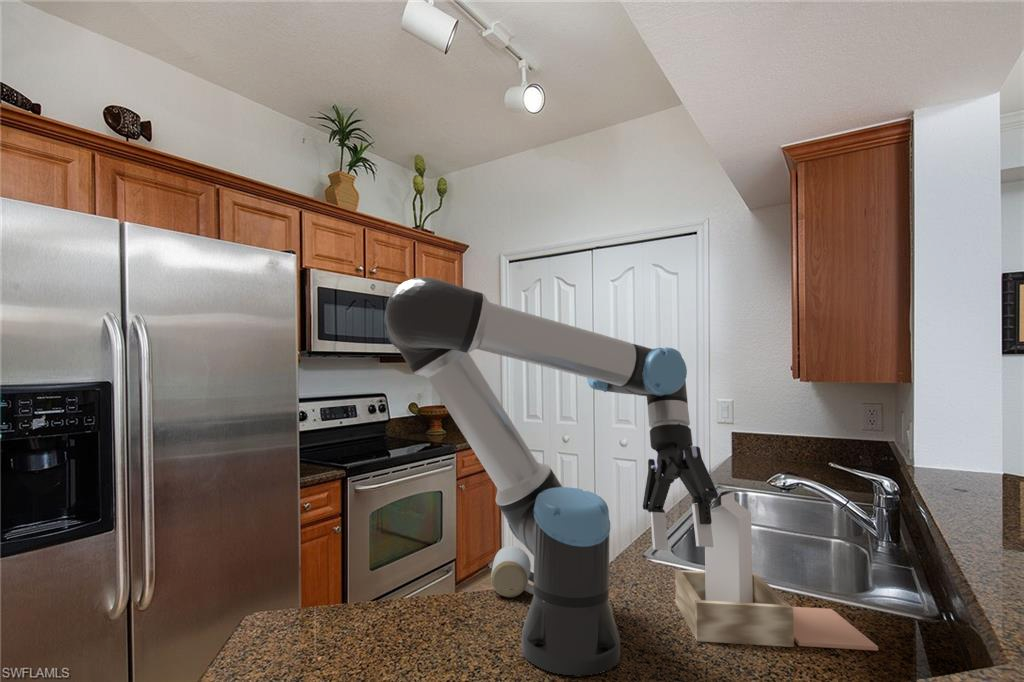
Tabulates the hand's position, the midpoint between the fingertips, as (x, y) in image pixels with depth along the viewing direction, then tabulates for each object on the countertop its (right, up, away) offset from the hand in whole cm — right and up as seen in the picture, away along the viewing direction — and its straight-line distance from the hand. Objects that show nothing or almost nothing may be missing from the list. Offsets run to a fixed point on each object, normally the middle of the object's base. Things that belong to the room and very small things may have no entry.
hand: (681, 548), depth 90 cm
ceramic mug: (-28, -14, +13) cm, 34 cm away
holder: (+9, -13, +1) cm, 16 cm away
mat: (+23, -13, 0) cm, 27 cm away
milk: (+9, -13, +1) cm, 16 cm away
